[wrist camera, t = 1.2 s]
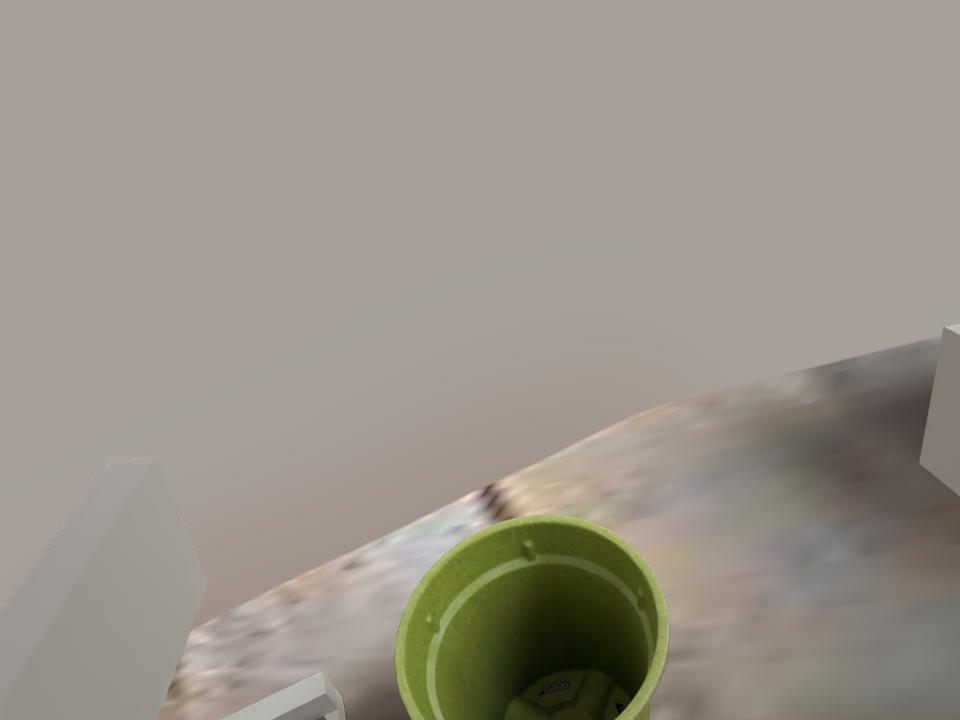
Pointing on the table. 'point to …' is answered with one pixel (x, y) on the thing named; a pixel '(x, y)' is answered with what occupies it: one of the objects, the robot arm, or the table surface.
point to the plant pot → (534, 627)
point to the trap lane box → (298, 703)
